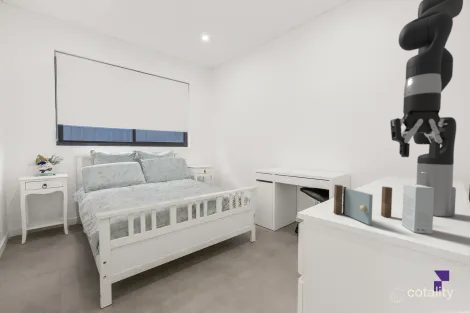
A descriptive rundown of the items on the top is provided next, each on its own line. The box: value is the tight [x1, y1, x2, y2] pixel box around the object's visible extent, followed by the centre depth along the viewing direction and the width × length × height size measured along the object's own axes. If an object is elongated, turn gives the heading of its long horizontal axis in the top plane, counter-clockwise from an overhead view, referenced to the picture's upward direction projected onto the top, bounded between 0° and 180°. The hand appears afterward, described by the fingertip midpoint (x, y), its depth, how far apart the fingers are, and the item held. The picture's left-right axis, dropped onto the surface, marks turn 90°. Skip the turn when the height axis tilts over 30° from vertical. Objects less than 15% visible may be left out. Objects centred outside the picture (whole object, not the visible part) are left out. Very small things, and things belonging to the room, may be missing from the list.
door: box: [344, 187, 374, 226], centre depth 65 cm, size 10×2×8 cm, turn 8°
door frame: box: [333, 184, 393, 218], centre depth 70 cm, size 17×2×10 cm, turn 82°
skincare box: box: [401, 183, 434, 235], centre depth 58 cm, size 6×4×12 cm
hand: (419, 157), depth 57 cm, fingers open, 6 cm apart
